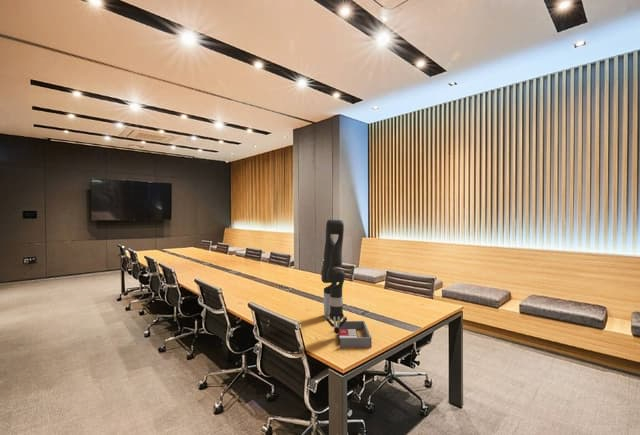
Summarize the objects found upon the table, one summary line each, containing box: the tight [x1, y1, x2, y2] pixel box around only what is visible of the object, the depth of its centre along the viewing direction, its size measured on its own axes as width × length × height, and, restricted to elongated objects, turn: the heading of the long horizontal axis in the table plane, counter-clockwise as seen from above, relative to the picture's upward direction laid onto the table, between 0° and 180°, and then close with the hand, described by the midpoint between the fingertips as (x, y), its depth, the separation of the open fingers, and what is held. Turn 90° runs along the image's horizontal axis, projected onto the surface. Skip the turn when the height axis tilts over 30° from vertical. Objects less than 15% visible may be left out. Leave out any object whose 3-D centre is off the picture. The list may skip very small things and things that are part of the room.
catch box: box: [339, 320, 373, 349], centre depth 176 cm, size 26×17×5 cm, turn 0°
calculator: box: [337, 329, 359, 346], centre depth 174 cm, size 11×4×15 cm
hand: (336, 333), depth 176 cm, fingers closed
